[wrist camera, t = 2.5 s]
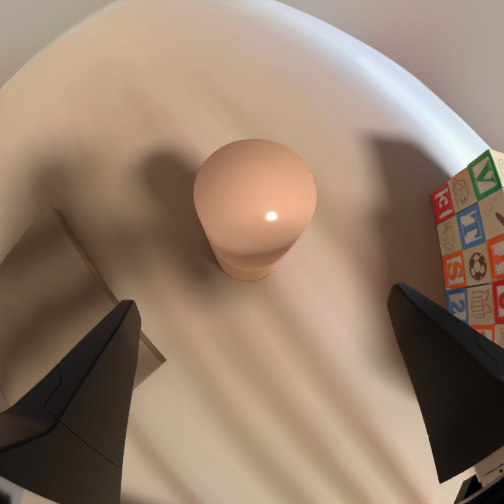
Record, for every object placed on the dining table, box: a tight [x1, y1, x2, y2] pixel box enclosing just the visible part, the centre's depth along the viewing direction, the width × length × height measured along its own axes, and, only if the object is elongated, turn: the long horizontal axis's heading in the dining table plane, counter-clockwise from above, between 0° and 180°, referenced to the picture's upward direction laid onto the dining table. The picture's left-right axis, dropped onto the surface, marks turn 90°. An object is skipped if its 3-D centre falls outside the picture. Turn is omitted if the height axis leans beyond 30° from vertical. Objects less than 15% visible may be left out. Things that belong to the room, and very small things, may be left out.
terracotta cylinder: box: [193, 139, 316, 282], centre depth 16 cm, size 5×5×10 cm
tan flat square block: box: [0, 205, 166, 407], centre depth 18 cm, size 16×16×2 cm
